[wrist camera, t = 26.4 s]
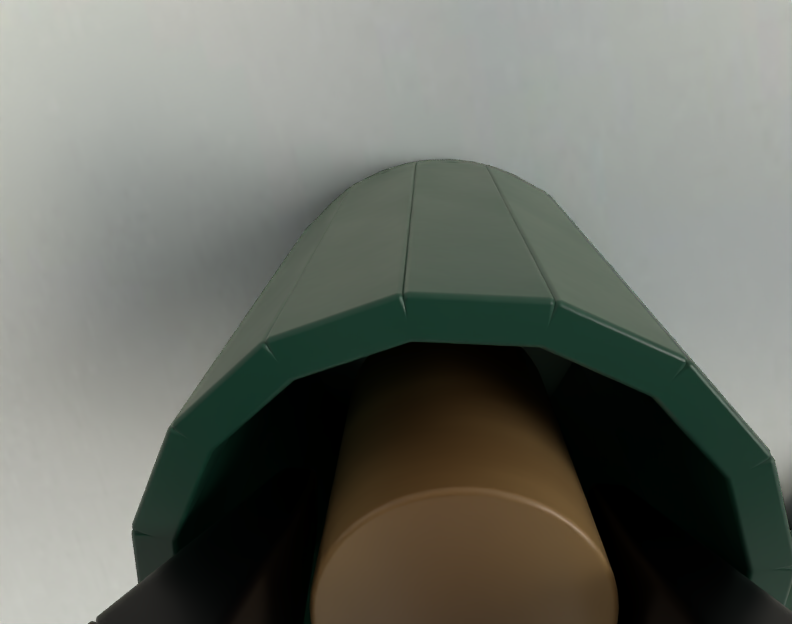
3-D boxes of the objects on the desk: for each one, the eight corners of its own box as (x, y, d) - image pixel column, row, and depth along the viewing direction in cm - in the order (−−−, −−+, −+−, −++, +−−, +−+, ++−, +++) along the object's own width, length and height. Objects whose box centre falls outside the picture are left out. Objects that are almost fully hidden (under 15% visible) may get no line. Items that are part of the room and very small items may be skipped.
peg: (555, 321, 11) (643, 497, 6) (534, 493, 12) (597, 738, 8) (351, 313, 11) (305, 481, 6) (350, 484, 12) (310, 723, 8)
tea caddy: (622, 165, 14) (877, 313, 6) (578, 458, 16) (717, 834, 8) (280, 152, 14) (94, 279, 6) (289, 444, 17) (165, 798, 9)
